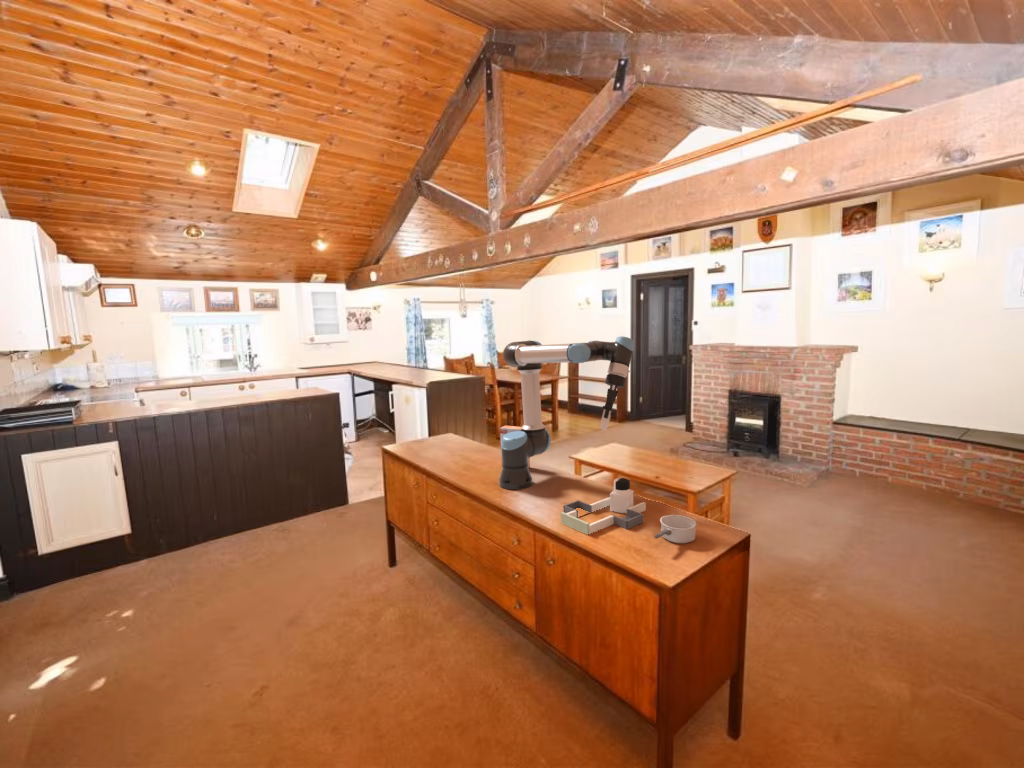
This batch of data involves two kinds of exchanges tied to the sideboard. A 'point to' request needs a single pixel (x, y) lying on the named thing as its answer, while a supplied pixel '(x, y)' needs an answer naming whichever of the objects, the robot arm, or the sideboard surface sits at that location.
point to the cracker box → (506, 430)
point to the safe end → (575, 523)
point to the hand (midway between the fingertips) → (603, 428)
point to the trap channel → (626, 522)
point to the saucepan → (677, 528)
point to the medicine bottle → (621, 496)
